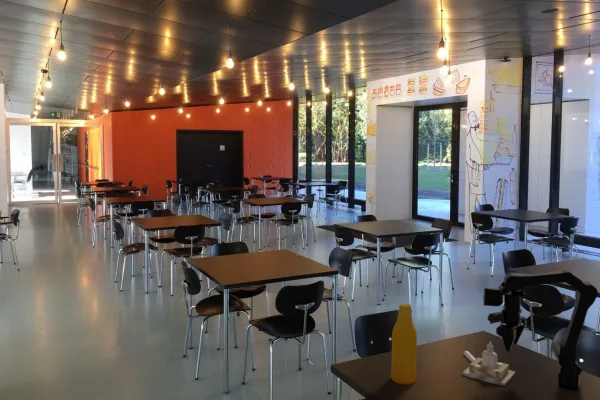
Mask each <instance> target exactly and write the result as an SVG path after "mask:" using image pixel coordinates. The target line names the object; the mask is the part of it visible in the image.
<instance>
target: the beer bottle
mask: <svg viewBox="0 0 600 400" xmlns="http://www.w3.org/2000/svg"><path fill="white" fill-rule="evenodd" d="M417 341H418V333H417V329H416V325H415V324H414V321H413V313H412V304H410V303H405V302H404V303H399V305H398V314H397V320H396V322H395V324H394V326H393V328H392V332H391V368H390V369H391V370H390V377H391V380H392V382H394V383H396V384H399V385H404V386H405V385H412V384H414V383H415V382H416V379H417V346H418V344H417V343H418V342H417Z"/></svg>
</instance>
